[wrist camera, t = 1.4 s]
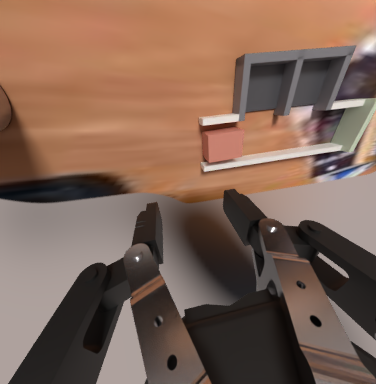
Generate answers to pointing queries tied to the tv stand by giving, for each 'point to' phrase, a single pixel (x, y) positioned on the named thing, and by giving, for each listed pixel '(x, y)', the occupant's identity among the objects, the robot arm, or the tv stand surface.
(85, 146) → the tv stand surface
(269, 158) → the box
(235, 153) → the red block
